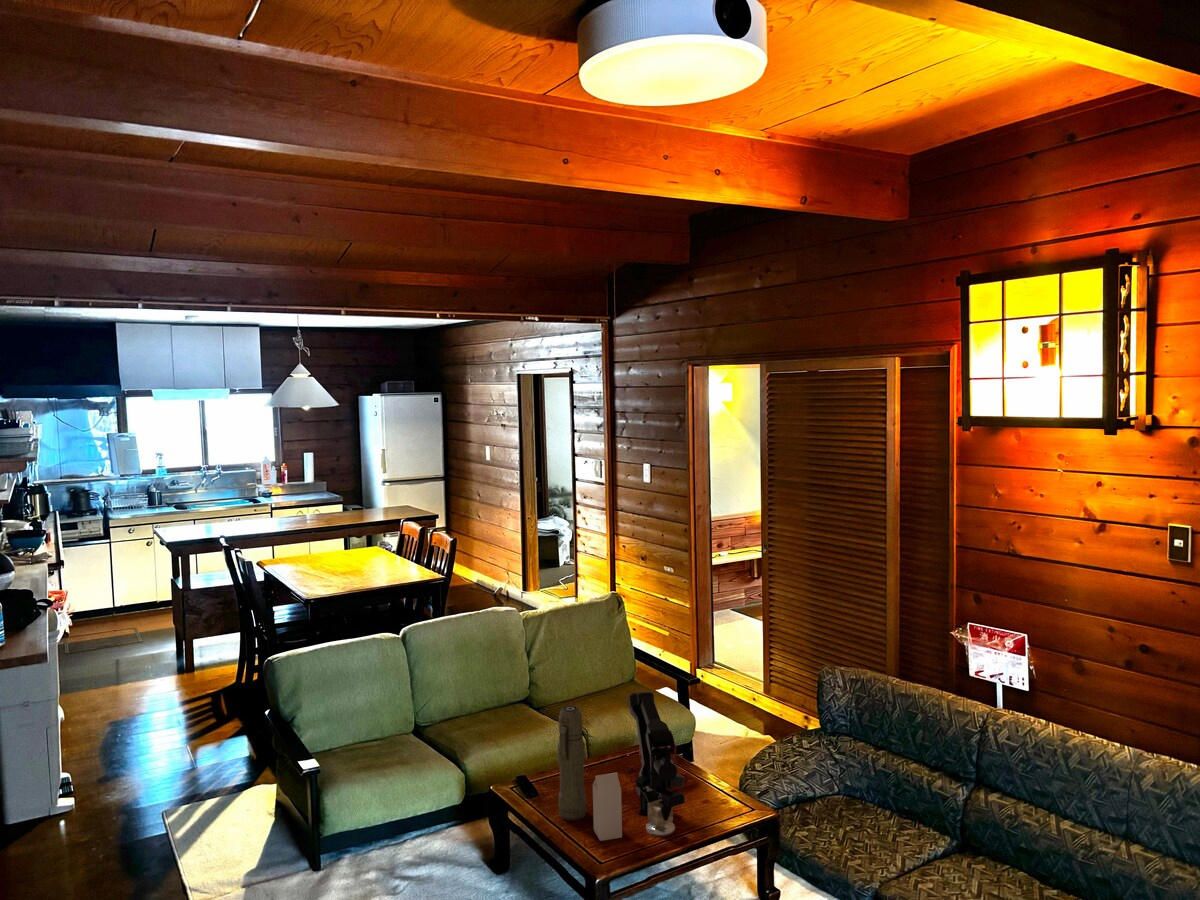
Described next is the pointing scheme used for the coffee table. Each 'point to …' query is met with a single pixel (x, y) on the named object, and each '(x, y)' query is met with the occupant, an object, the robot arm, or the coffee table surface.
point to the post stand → (660, 829)
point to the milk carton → (607, 807)
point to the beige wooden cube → (658, 813)
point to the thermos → (571, 764)
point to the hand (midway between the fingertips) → (660, 816)
